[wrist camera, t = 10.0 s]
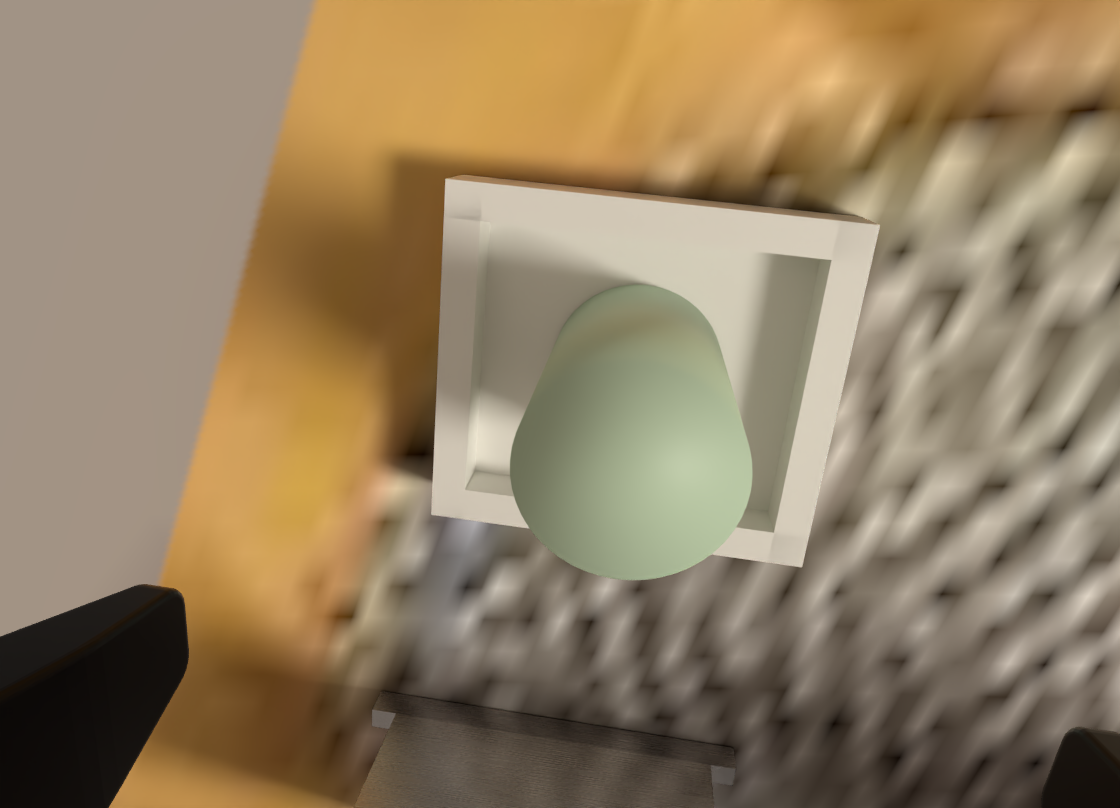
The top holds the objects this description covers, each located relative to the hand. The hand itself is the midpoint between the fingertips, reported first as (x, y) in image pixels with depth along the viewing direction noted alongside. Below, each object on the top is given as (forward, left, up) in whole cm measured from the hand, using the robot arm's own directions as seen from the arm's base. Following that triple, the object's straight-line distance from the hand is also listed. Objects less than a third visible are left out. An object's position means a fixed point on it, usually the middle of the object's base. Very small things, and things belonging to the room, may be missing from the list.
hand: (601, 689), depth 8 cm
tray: (0, 0, -12) cm, 12 cm away
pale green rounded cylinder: (0, 0, -11) cm, 11 cm away
